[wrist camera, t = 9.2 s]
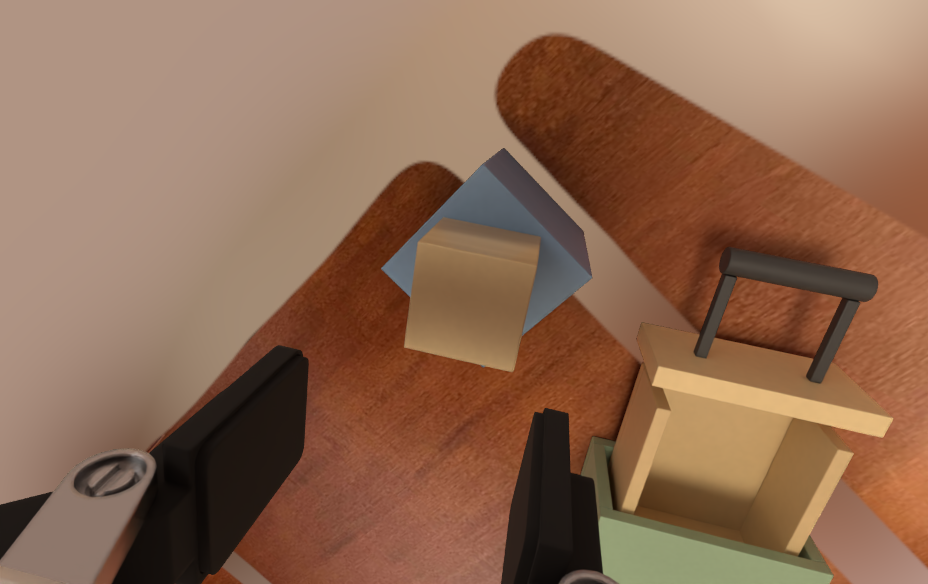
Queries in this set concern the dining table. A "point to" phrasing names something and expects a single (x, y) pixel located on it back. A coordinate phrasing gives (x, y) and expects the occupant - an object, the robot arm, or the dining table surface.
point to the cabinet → (685, 546)
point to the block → (471, 292)
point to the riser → (516, 209)
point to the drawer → (743, 418)
